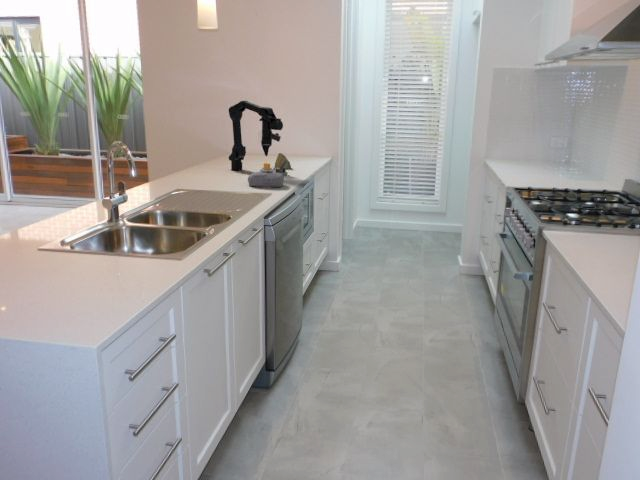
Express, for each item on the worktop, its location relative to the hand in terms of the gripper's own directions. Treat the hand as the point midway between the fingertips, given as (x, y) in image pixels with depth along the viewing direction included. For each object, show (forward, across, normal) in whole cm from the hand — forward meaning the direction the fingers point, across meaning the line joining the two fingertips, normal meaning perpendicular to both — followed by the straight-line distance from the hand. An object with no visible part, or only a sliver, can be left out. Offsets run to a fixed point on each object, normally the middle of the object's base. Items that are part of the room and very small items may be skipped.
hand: (266, 154), depth 341 cm
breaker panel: (+12, +4, -4) cm, 13 cm away
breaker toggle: (+9, -1, -9) cm, 12 cm away
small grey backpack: (+12, -39, 0) cm, 40 cm away
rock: (+12, +26, -11) cm, 30 cm away
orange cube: (+10, -1, 0) cm, 10 cm away
